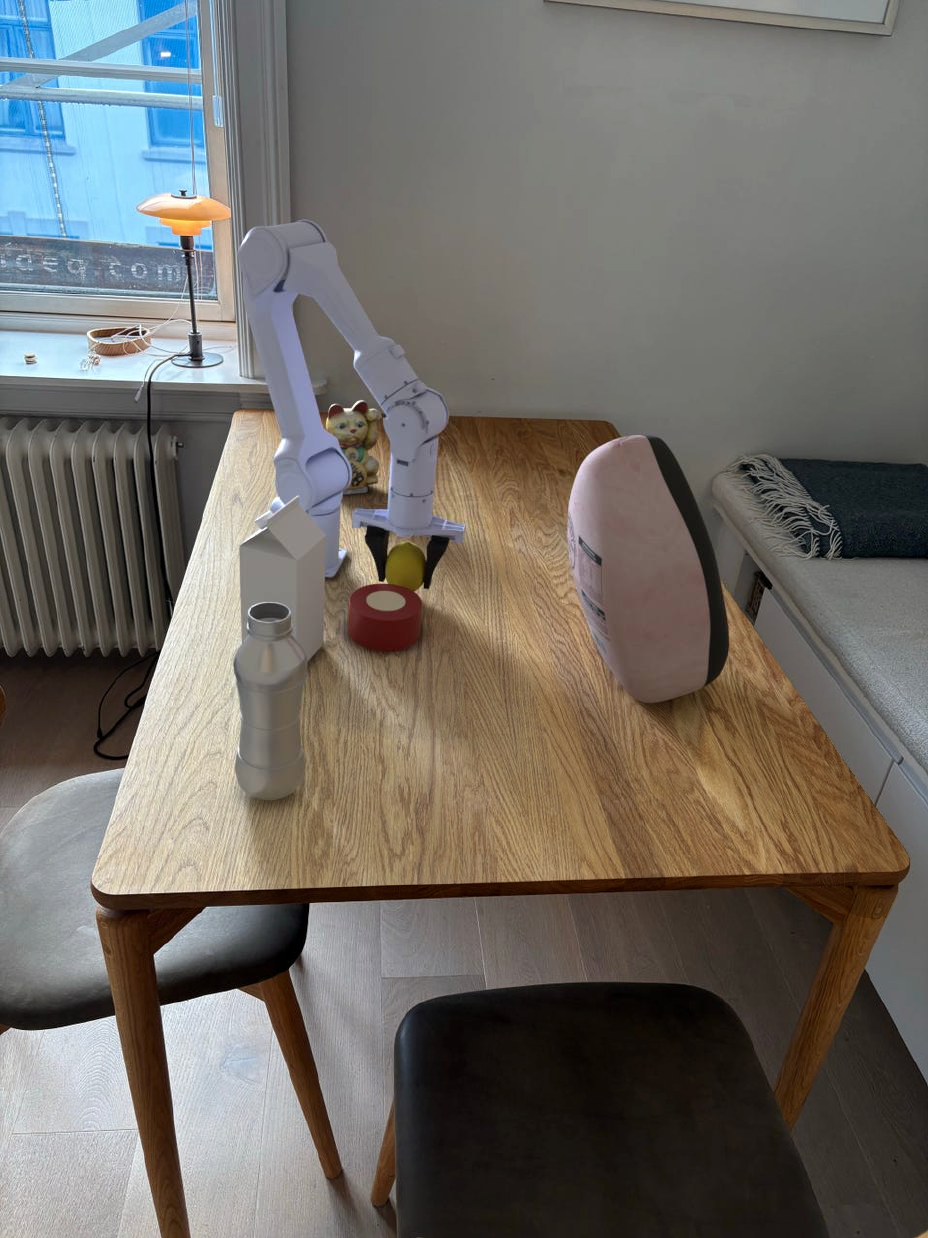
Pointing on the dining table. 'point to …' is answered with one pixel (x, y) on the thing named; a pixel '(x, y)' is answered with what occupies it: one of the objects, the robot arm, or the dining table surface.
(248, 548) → the milk carton
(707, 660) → the pink backpack
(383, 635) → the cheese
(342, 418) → the decorative figurine
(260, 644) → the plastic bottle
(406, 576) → the lemon
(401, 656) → the dining table surface
